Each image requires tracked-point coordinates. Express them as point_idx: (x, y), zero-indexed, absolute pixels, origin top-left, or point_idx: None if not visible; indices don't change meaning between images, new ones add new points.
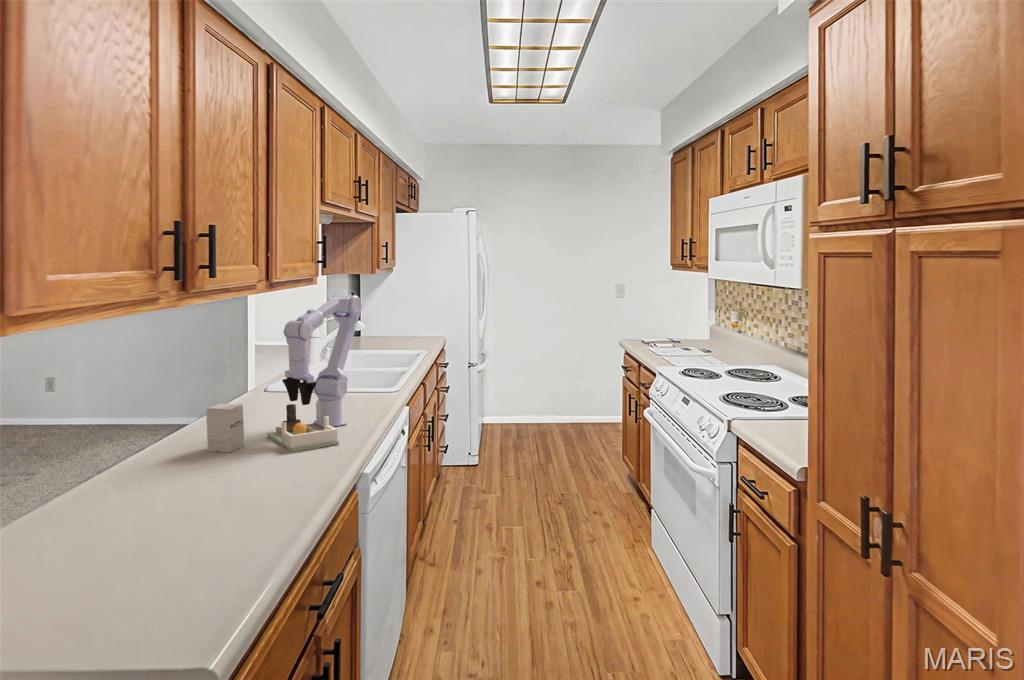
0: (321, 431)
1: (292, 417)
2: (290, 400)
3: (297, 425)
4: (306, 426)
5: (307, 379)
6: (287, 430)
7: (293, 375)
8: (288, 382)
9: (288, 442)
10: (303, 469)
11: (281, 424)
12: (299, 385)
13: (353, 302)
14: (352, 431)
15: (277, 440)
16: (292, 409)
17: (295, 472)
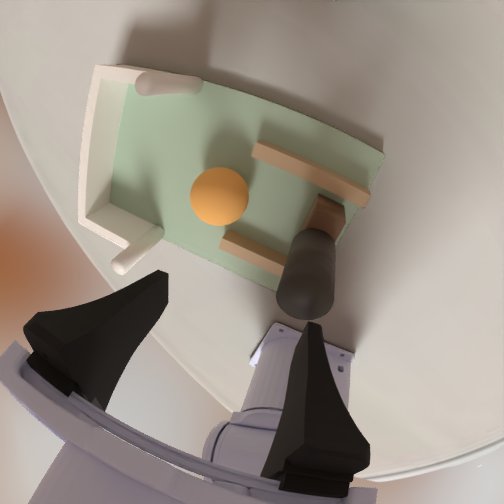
0: (79, 174)
1: (290, 247)
2: (314, 325)
3: (203, 185)
4: (259, 259)
5: (5, 358)
6: (313, 204)
7: (78, 441)
8: (296, 438)
9: (133, 67)
10: (37, 36)
11: (152, 72)
12: (45, 322)
13: None
14: (184, 317)
15: (256, 96)
16: (283, 272)
17: (38, 18)
